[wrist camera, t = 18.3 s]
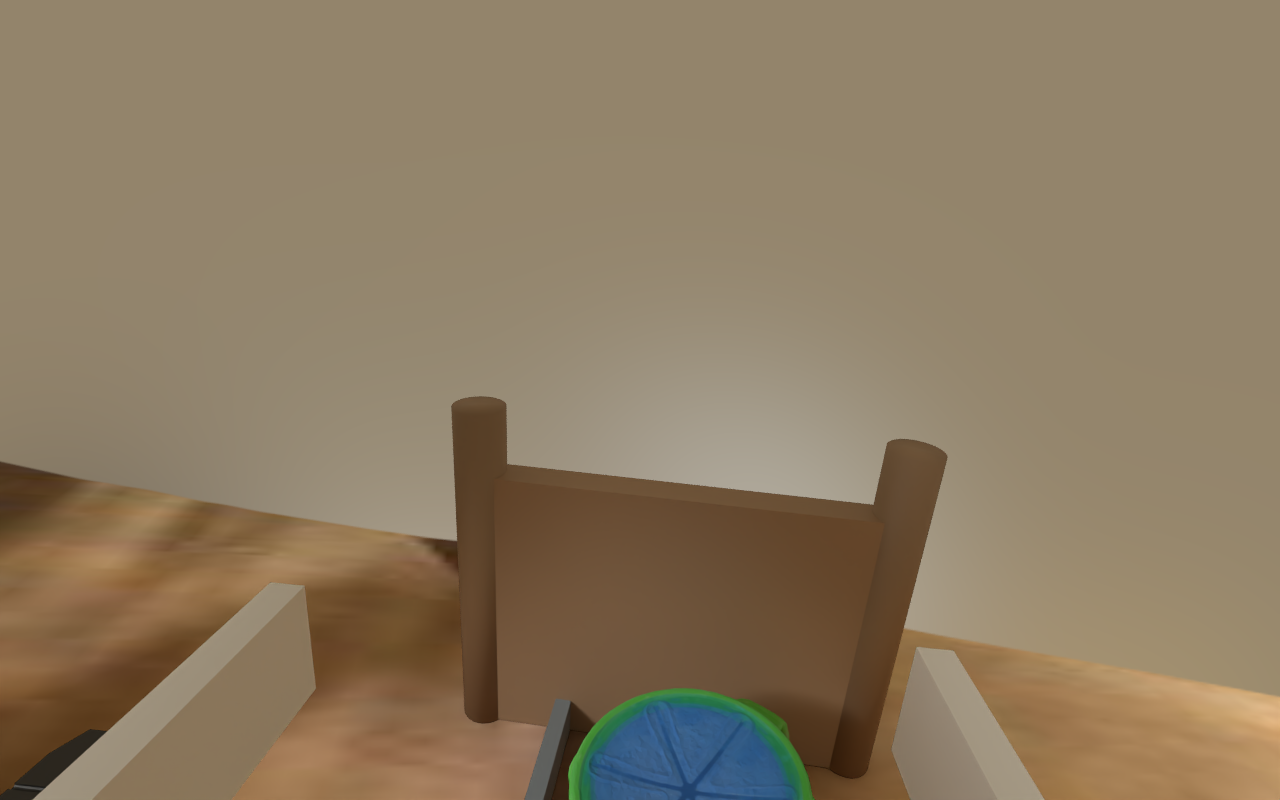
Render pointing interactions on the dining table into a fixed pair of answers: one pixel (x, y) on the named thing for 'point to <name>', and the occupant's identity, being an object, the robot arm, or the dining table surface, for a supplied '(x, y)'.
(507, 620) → the headboard cradle
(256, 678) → the robot arm
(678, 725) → the snack cup
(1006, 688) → the dining table surface
